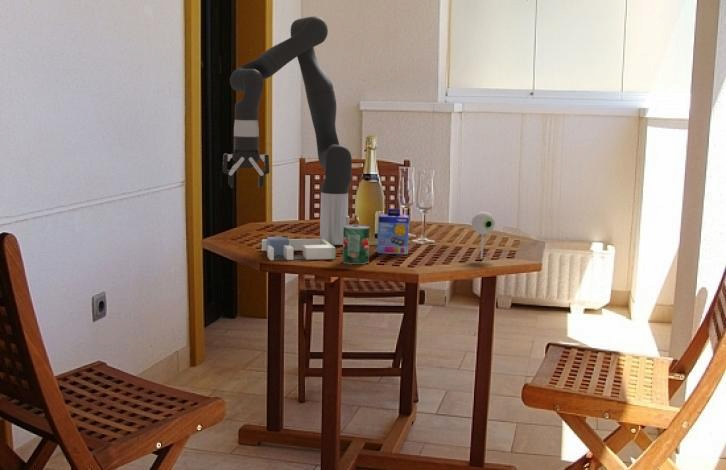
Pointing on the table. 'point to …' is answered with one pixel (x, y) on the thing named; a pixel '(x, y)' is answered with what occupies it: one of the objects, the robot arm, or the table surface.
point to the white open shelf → (309, 247)
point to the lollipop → (483, 225)
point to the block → (277, 244)
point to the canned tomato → (356, 244)
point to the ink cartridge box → (393, 233)
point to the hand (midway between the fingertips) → (245, 187)
